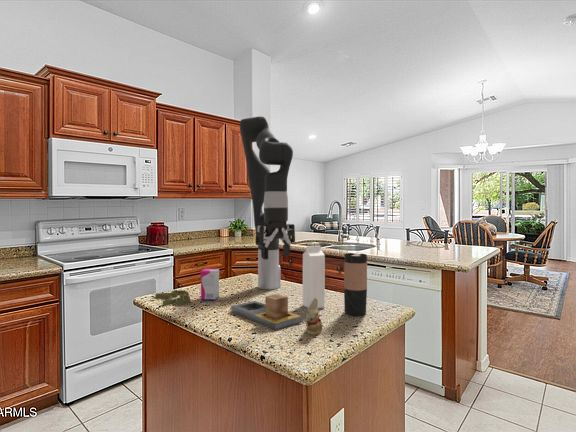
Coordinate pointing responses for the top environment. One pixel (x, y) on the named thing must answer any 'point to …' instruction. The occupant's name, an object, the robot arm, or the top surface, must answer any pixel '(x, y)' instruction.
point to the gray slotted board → (260, 316)
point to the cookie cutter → (181, 300)
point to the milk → (313, 276)
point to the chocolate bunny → (313, 319)
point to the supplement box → (210, 284)
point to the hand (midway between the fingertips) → (275, 257)
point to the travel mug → (355, 284)
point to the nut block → (276, 306)
